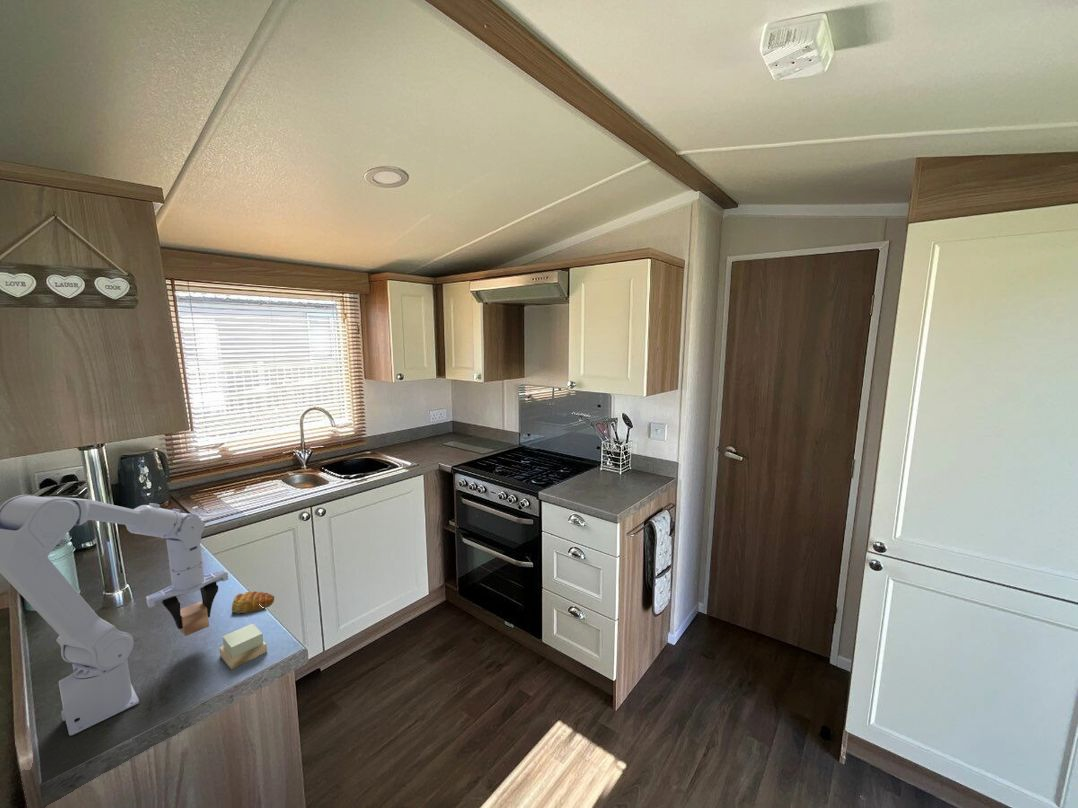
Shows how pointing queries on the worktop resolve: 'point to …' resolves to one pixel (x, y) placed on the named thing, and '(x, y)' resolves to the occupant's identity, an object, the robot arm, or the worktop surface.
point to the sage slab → (242, 640)
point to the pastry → (251, 602)
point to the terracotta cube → (194, 618)
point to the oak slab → (242, 655)
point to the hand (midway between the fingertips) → (193, 621)
